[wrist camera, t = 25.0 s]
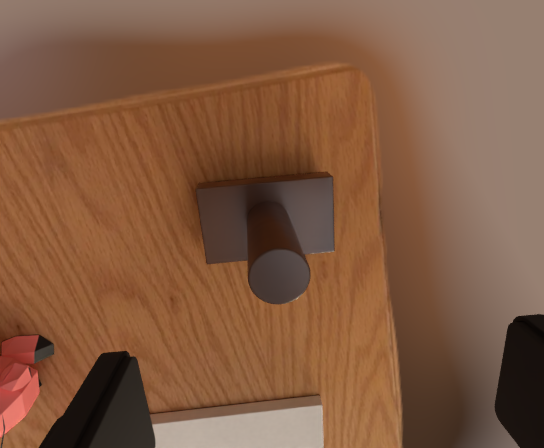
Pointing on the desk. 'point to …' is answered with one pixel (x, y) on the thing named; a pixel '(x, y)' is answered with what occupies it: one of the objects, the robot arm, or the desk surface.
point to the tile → (244, 425)
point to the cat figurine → (20, 377)
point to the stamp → (269, 228)
